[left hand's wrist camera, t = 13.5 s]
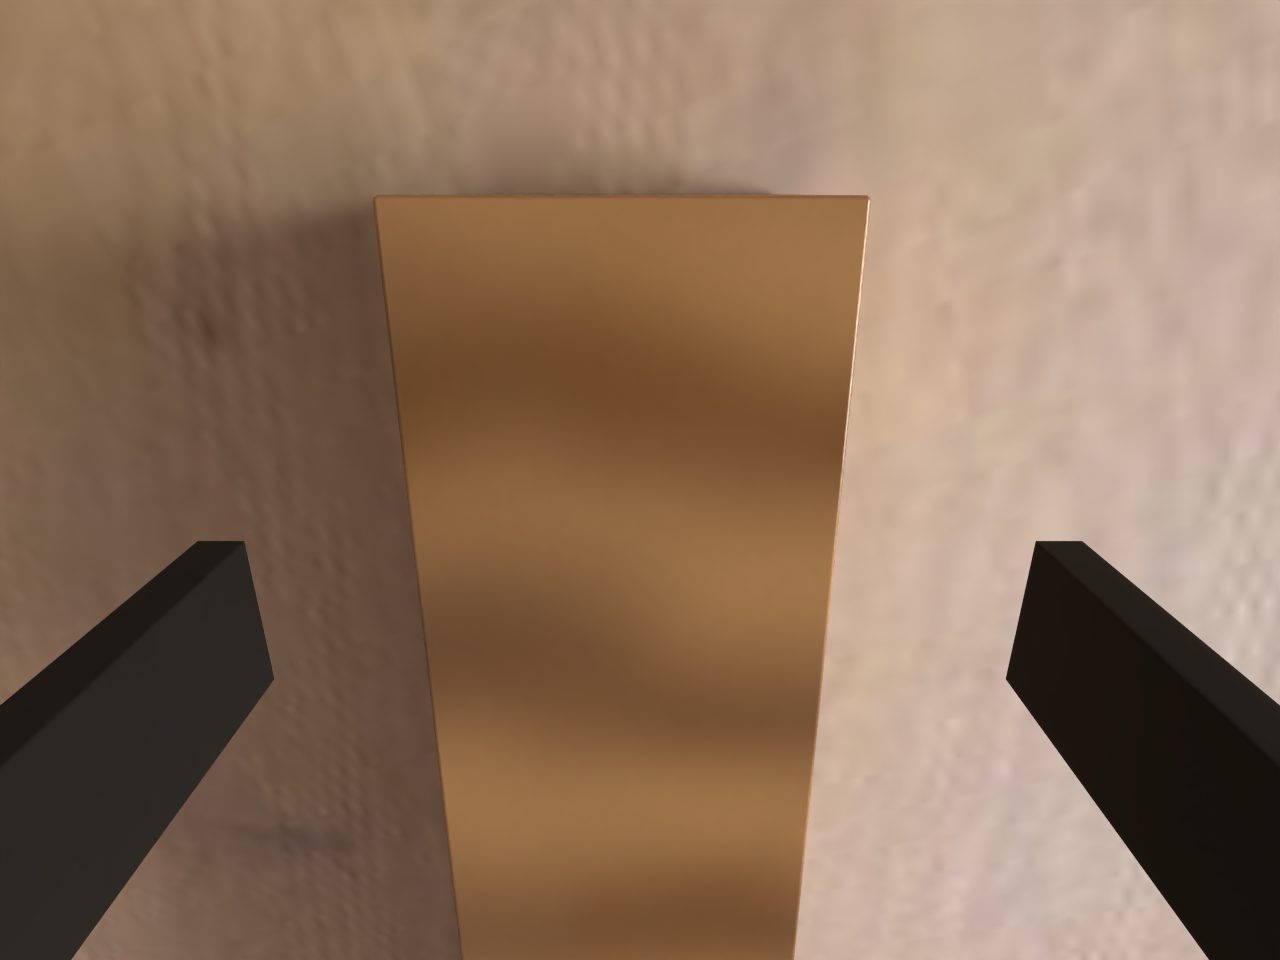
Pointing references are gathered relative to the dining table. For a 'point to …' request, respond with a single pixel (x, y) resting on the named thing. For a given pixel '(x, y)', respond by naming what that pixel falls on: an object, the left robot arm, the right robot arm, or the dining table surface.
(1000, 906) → the dining table surface
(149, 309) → the dining table surface
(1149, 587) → the dining table surface
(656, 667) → the long beam
